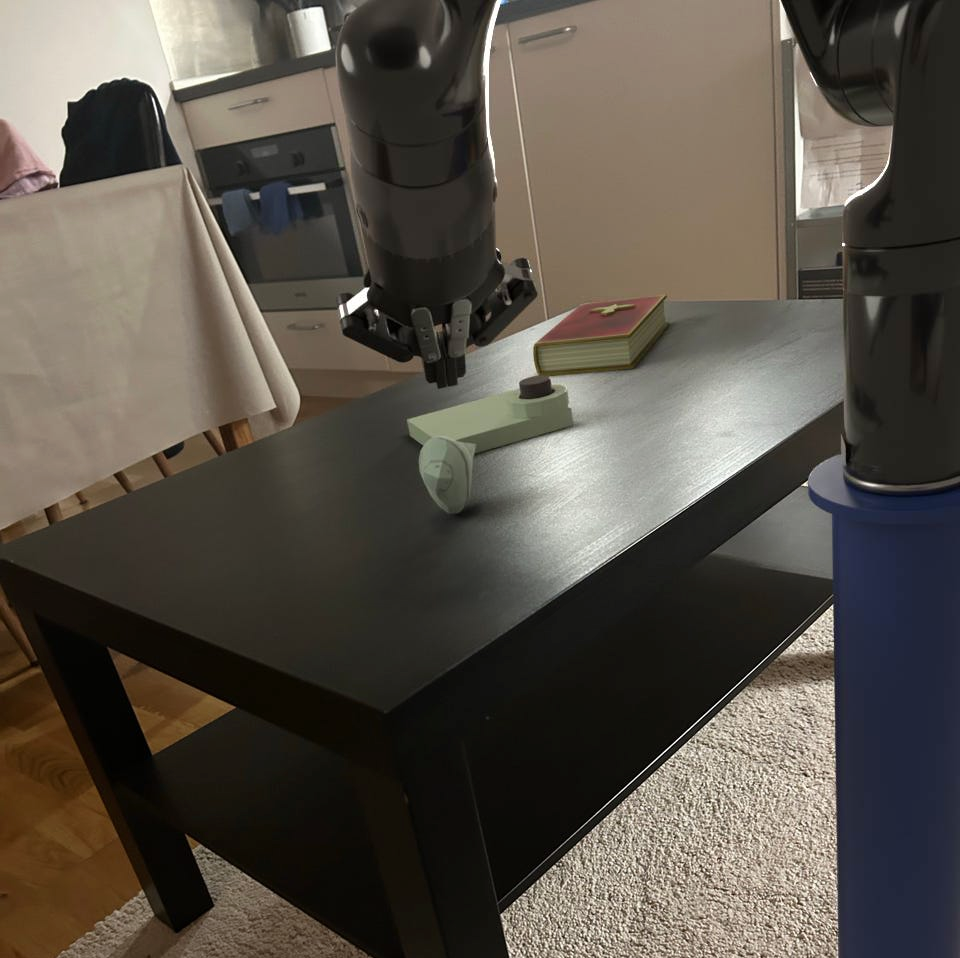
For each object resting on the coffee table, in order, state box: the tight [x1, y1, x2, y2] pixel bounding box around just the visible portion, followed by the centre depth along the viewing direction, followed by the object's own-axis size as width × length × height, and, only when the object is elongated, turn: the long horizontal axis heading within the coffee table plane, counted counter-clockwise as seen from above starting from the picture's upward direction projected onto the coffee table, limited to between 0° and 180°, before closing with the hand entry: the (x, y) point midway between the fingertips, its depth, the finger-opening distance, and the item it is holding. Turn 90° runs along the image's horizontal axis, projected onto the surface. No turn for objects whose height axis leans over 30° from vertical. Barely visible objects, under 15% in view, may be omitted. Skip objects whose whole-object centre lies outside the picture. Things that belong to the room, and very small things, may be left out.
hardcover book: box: [532, 293, 670, 377], centre depth 128 cm, size 12×21×4 cm, turn 159°
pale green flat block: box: [406, 384, 574, 455], centre depth 105 cm, size 14×12×4 cm
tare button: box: [518, 375, 553, 399], centre depth 102 cm, size 3×3×2 cm
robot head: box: [418, 436, 476, 515], centre depth 85 cm, size 8×4×7 cm, turn 158°
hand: (444, 376), depth 71 cm, fingers closed
